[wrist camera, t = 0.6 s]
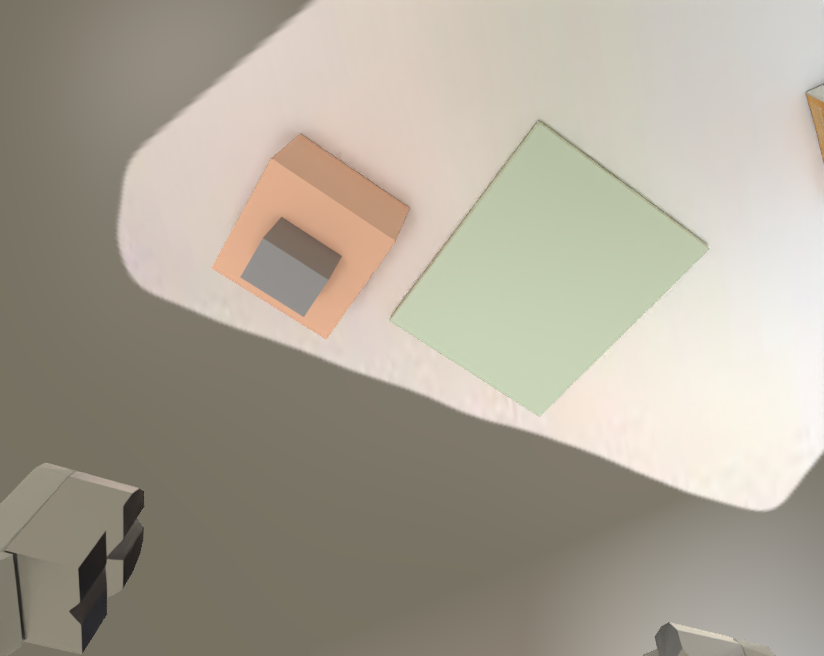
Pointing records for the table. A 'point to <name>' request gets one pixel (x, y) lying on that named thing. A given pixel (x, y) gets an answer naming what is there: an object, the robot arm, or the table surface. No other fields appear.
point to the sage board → (545, 272)
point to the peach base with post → (310, 235)
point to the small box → (818, 112)
